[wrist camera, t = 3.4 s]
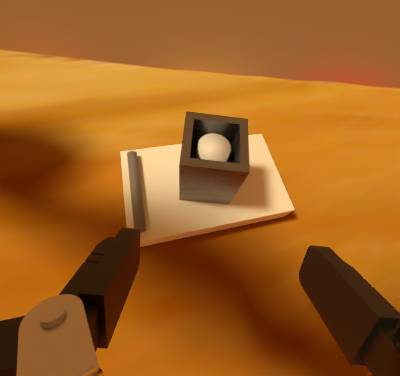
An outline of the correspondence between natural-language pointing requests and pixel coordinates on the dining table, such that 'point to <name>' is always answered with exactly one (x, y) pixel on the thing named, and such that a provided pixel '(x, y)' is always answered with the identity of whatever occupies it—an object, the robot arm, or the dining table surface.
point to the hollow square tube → (209, 169)
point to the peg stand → (192, 210)
